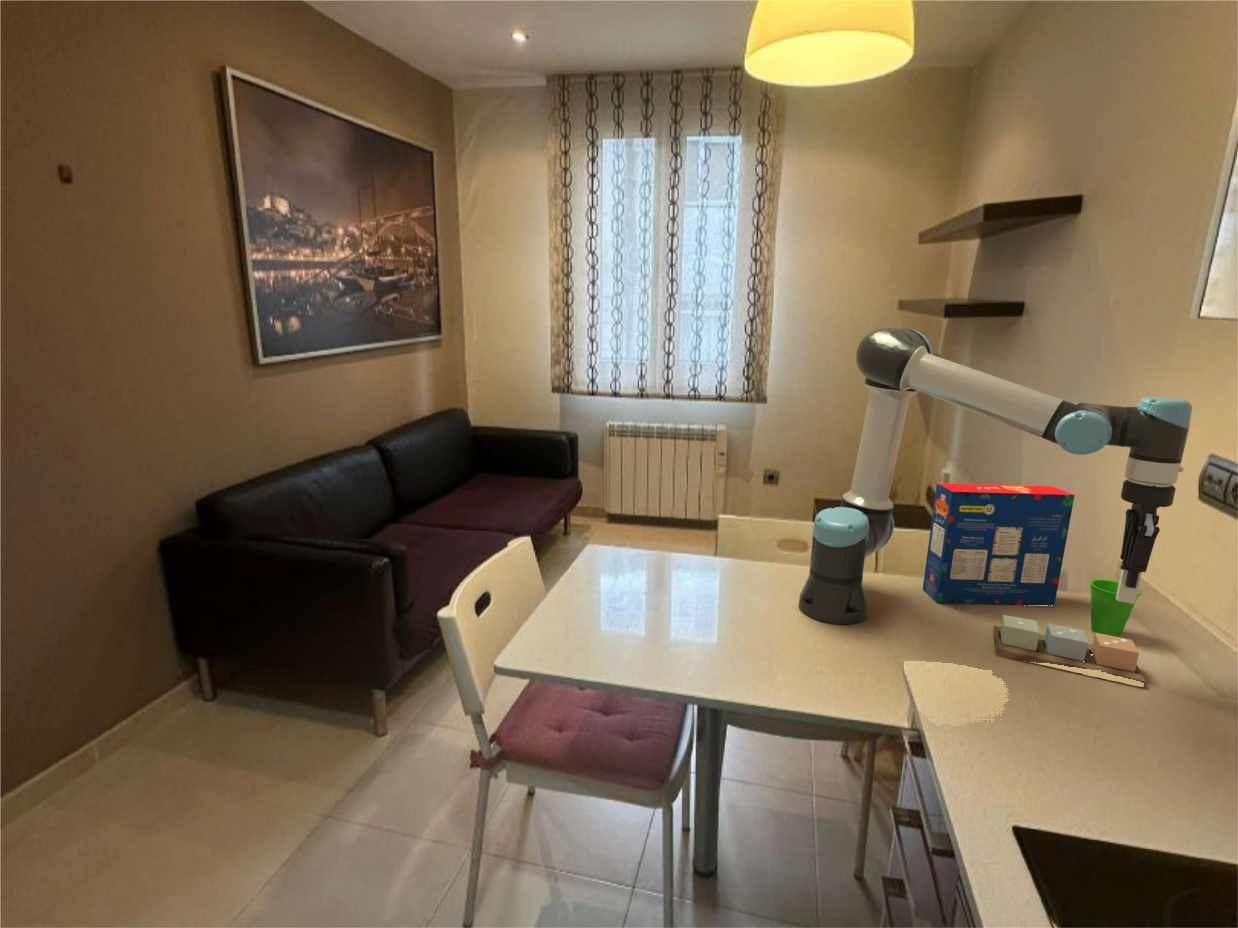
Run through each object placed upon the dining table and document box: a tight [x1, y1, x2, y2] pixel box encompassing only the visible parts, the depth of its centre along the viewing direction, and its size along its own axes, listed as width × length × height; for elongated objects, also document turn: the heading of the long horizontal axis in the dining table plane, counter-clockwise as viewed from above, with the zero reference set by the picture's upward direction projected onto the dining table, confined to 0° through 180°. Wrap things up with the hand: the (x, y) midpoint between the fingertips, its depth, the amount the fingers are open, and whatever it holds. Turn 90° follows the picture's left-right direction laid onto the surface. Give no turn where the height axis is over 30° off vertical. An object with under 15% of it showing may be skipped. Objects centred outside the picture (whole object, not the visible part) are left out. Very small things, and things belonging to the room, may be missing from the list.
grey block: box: [1044, 622, 1089, 662], centre depth 129 cm, size 6×6×4 cm
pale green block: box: [1000, 614, 1040, 652], centre depth 132 cm, size 6×6×4 cm
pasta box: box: [922, 482, 1075, 607], centre depth 155 cm, size 28×8×28 cm, turn 89°
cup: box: [1088, 578, 1142, 637], centre depth 140 cm, size 9×9×11 cm
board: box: [993, 624, 1146, 685], centre depth 129 cm, size 24×12×2 cm, turn 62°
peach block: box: [1091, 633, 1140, 672], centre depth 125 cm, size 6×6×4 cm
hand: (1125, 600), depth 123 cm, fingers closed
